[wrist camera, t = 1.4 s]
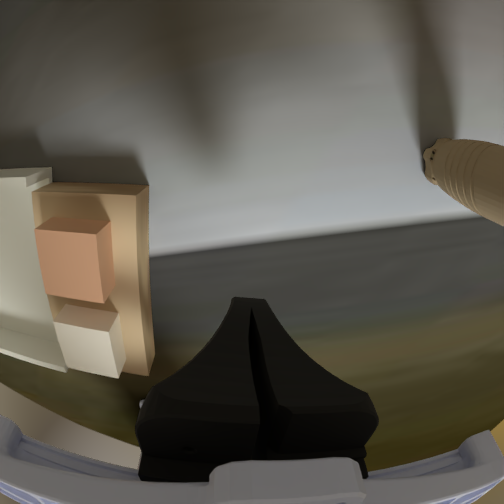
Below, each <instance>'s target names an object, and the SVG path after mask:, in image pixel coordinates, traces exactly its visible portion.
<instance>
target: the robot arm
mask: <svg viewBox="0 0 504 504" xmlns="http://www.w3.org/2000/svg"><path fill="white" fill-rule="evenodd" d="M139 405H140V411H139V414H138V418H137V422H136V426H135V434H136V437H137V440H138V443H139V446H140V449H141V455H140V460H139V464H138V469H133V468H127V467H123V466H119V465H114V464H111V463H107V462H103V461H99V460H95V459H92V458H88V457H85V456H81V455H78V454H75V453H72V452H69V451H65V450H63V449H60V448H57V447H54V446H51V445H48V444H46V443H43V442H41V441H38V440H35V439H33V438H31V437H28V436H26V435H23V434H22V432H21V430H20V428H19V427H18V426H17V424H16V423H14V422H13V421H12V420H10V419H9V418H7V417H4V416H2V415H0V492H1V493H3V494H4V495H6V496H8V497H10V498H12V499H14V500H15V501H17V502H19V503H21V504H470V503H472V502H474V501H476V500H477V499H478V498H480V497H481V496H483V495H484V494H485V493H486V492H488V491H489V490H490V489H492V488H493V487H494V486H495V485H497V484H498V483H499V482H500V481H502V480H503V479H504V456H503V455H502V453H501V451H500V449H499V447H498V445H497V443H496V442H495V440H494V438H493V436H492V434H491V432H490V431H489V430H486V431H484V432H481V433H478V434H476V435H473V436H471V437H469V438H468V439H466V440H465V441H464V442H463V443H462V444H461V445H460V447H459V448H458V449H456V450H453V451H450V452H447V453H444V454H441V455H438V456H434V457H431V458H428V459H424V460H420V461H417V462H413V463H409V464H405V465H401V466H396V467H392V468H387V469H382V470H377V471H372V472H367V468H366V465H365V461H364V458H365V457H366V454H367V453H366V450H365V447H364V445H365V444H366V442H367V441H368V440H369V438H370V437H371V436H372V434H373V433H374V431H375V430H376V428H377V426H378V422H379V418H378V415H377V413H376V410H375V407H374V405H373V403H372V401H371V399H370V397H369V395H368V393H366V392H364V391H362V390H360V389H357V388H355V387H353V386H351V385H349V384H347V383H346V382H344V381H342V380H341V379H339V378H337V377H336V376H334V375H333V374H331V373H330V372H328V371H327V370H325V369H324V368H323V367H321V366H320V365H319V364H317V363H316V362H315V361H314V360H313V359H311V358H310V357H309V356H308V355H307V354H306V353H305V352H304V351H303V350H302V349H301V348H300V347H299V346H298V345H297V344H296V343H295V342H294V340H293V339H292V338H291V337H290V336H289V334H288V333H287V332H286V331H285V329H284V328H283V326H282V325H281V324H280V322H279V321H278V319H277V318H276V316H275V315H274V313H273V312H272V310H271V308H270V307H269V305H268V303H267V301H266V300H265V299H256V298H243V297H234V298H232V300H231V305H230V307H229V310H228V312H227V314H226V316H225V318H224V320H223V321H222V323H221V325H220V326H219V328H218V329H217V331H216V332H215V334H214V335H213V337H212V338H211V339H210V341H209V342H208V343H207V344H206V345H205V346H204V348H203V349H202V350H201V351H200V352H199V353H198V354H197V355H196V356H195V357H194V358H193V359H192V360H191V361H189V362H188V363H187V364H186V365H185V366H183V367H182V368H181V369H179V370H178V371H177V372H176V373H174V374H173V375H171V376H170V377H168V378H167V379H165V380H163V381H161V382H160V383H158V384H156V385H155V386H153V387H152V388H151V389H150V391H149V393H148V394H147V396H146V398H145V400H141V401H140V404H139Z"/></svg>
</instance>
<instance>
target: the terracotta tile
mask: <svg viewBox="0 0 504 504" xmlns="http://www.w3.org/2000/svg"><path fill="white" fill-rule="evenodd" d="M34 232H35V239H36V245H37V252H38V258H39V263H40V269H41V274H42V279H43V283H44V288H45V293H46V294H50V295H55V296H61V297H66V298H72V299H78V300H84V301H90V302H97V303H103V304H104V303H105V301H106V299H107V298H108V296H109V295H110V293H111V292H112V290H113V289H114V287H115V285H116V284H115V275H114V264H113V251H112V236H111V221H102V220H88V219H74V218H59V217H52V218H50V219H49V220H47V221H45V222H44V223H42V224H41V225H40V226H38V227H37V228H35V229H34Z"/></svg>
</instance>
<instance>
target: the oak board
mask: <svg viewBox="0 0 504 504" xmlns="http://www.w3.org/2000/svg"><path fill="white" fill-rule="evenodd" d="M32 204H33V214H34V223H35V228H37V227H38V226H40V225H41V224H42V223H44V222H45V221H47V220H49V219H50V218H52V217H59V218H74V219H88V220H102V221H111V236H112V251H113V264H114V275H115V284H116V285H115V287H114V289H113V290H112V292H111V293H110V295H109V296H108V298H107V299H106V301H105V303H104V304H103V303H97V302H90V301H84V300H78V299H72V298H66V297H61V296H55V295H50V294H47V297H48V301H49V305H50V309H51V313H52V317H53V320H54V319H55V318H56V316H57V315H58V314H59V312H60V311H61V310H62V308H63V307H64V306H65V304H68V305H74V306H80V307H85V308H91V309H98V310H104V311H110V312H117V313H119V317H120V324H121V330H122V337H123V343H124V348H125V354H126V361H125V363H124V366H123V369H122V371H121V372H126V373H132V374H138V375H144V376H149V373H150V370H151V366H152V363H153V360H154V356H155V346H154V335H153V323H152V309H151V293H150V272H149V185H134V184H111V183H77V182H52V183H49V184H47V185H45V186H43V187H41V188H38V189H36V190H34V191H32Z"/></svg>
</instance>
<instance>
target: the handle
mask: <svg viewBox="0 0 504 504" xmlns="http://www.w3.org/2000/svg"><path fill="white" fill-rule="evenodd" d="M423 158H424V160H425V165H426V170H425V176H426V178H427V180H429V181H430V182H431V183H433V184H434V185H438V186H439V187H440V188H441V189H442V190H443V191H445V192H446V193H447V194H448V195H449V196H451V197H452V198H453V199H455V200H456V201H458V202H459V203H461V204H462V205H464V206H465V207H467V208H469V209H470V210H472V211H474V212H476V213H477V214H479V215H481V216H483V217H485V218H487V219H489V220H491V221H493V222H496V223H498V224H500V225H502V226H504V146H501V145H498V144H493V143H489V142H484V141H477V140H467V139H459V140H452V139H450V138H442V139H438V140H436V143H435V144H434V145H433V146H432V147H431V148H426V150H425V151H424V154H423Z"/></svg>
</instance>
